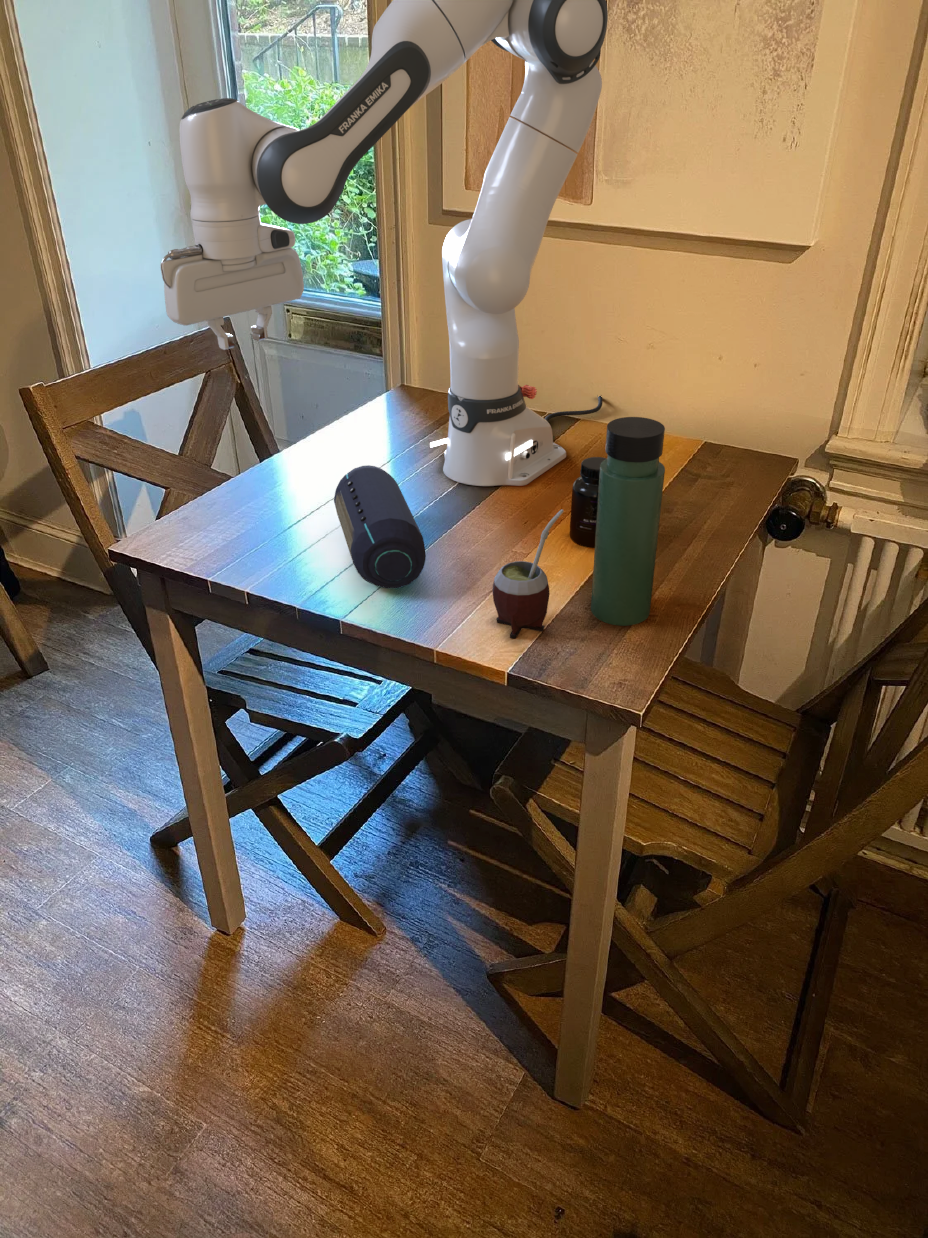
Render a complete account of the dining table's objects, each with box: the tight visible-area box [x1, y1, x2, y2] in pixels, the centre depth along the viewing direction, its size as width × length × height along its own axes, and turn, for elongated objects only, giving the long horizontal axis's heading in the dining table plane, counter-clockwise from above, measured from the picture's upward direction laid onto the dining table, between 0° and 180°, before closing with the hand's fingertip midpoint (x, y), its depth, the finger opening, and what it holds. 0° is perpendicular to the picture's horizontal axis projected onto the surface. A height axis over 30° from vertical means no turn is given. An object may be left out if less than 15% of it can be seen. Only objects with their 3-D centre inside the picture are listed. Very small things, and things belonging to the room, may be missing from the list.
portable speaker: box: [333, 464, 427, 589], centre depth 133 cm, size 25×10×10 cm, turn 14°
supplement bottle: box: [569, 456, 607, 549], centre depth 135 cm, size 7×7×12 cm
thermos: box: [590, 416, 666, 627], centre depth 115 cm, size 8×8×25 cm
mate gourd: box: [491, 508, 565, 640], centre depth 115 cm, size 8×8×15 cm
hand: (243, 343), depth 132 cm, fingers open, 4 cm apart
